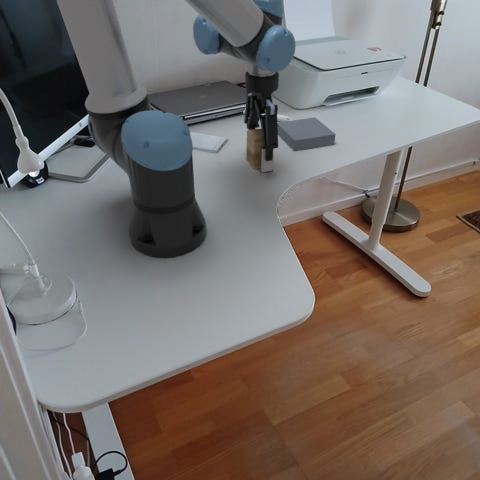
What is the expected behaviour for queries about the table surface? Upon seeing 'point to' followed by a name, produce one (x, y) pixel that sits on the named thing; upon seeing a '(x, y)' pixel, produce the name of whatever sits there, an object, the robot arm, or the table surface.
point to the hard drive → (207, 142)
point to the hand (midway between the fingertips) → (259, 161)
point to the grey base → (305, 134)
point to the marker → (279, 117)
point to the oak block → (254, 147)
